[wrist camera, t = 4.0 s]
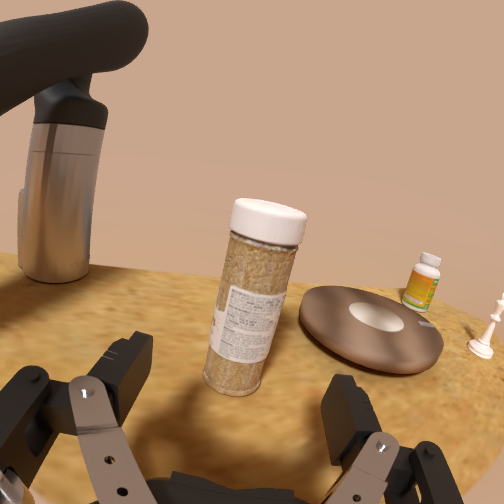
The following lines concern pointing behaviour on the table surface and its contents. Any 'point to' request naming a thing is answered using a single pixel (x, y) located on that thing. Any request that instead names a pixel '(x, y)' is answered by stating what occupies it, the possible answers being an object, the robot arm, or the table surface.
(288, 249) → the sprinkles bottle
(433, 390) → the table surface
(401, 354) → the turntable platter
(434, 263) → the supplement bottle
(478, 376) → the table surface
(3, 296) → the table surface
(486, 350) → the chess piece
